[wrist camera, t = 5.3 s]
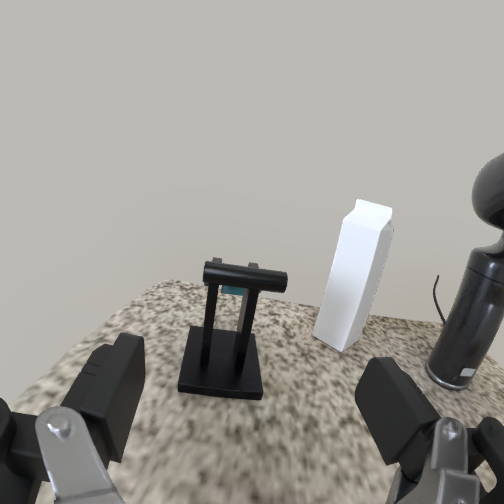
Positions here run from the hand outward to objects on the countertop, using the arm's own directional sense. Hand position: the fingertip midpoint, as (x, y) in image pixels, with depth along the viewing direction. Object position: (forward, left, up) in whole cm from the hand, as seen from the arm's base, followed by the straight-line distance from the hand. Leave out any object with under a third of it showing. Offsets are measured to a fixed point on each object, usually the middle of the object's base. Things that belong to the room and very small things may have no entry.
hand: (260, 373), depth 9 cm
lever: (-12, -9, -4) cm, 15 cm away
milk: (-34, -4, -16) cm, 38 cm away
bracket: (-16, -13, -16) cm, 26 cm away
